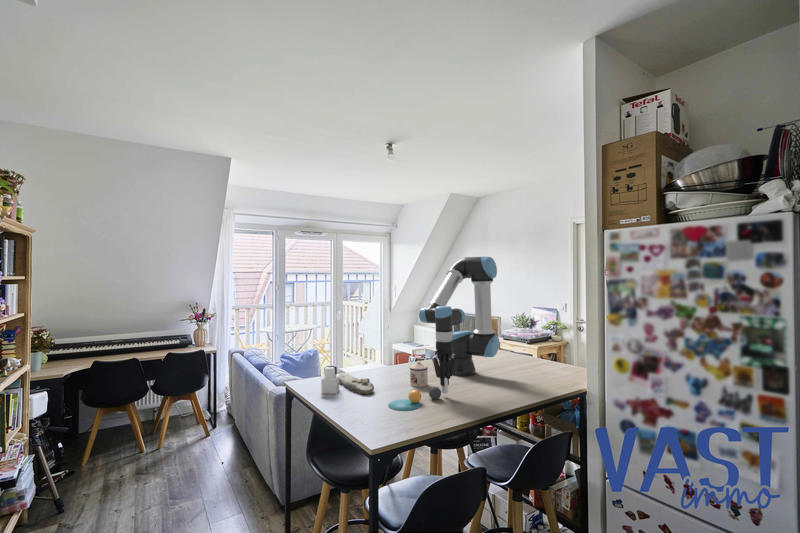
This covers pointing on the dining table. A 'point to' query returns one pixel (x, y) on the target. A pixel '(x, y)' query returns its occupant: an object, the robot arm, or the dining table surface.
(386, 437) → the dining table surface
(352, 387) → the long grey stone
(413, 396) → the object ball
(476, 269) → the robot arm
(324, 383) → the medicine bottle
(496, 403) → the dining table surface
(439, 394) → the dark grey ball
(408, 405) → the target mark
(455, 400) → the dining table surface
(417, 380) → the teacup with lid
